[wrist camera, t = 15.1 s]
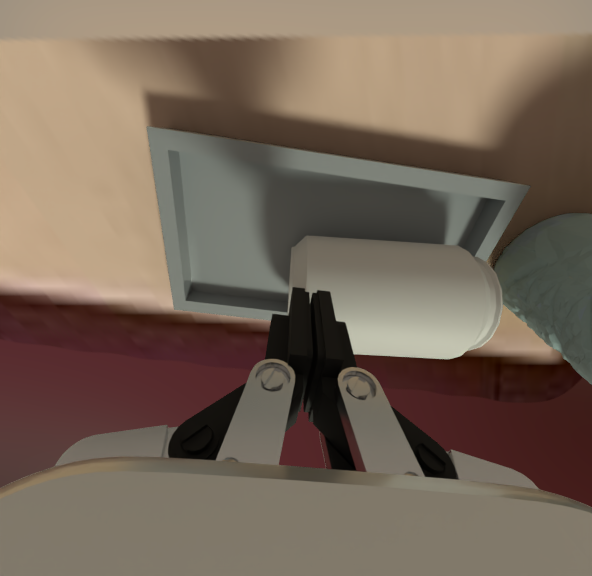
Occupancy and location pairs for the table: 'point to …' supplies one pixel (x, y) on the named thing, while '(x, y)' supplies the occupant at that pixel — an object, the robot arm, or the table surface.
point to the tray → (299, 213)
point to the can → (402, 294)
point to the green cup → (553, 285)
